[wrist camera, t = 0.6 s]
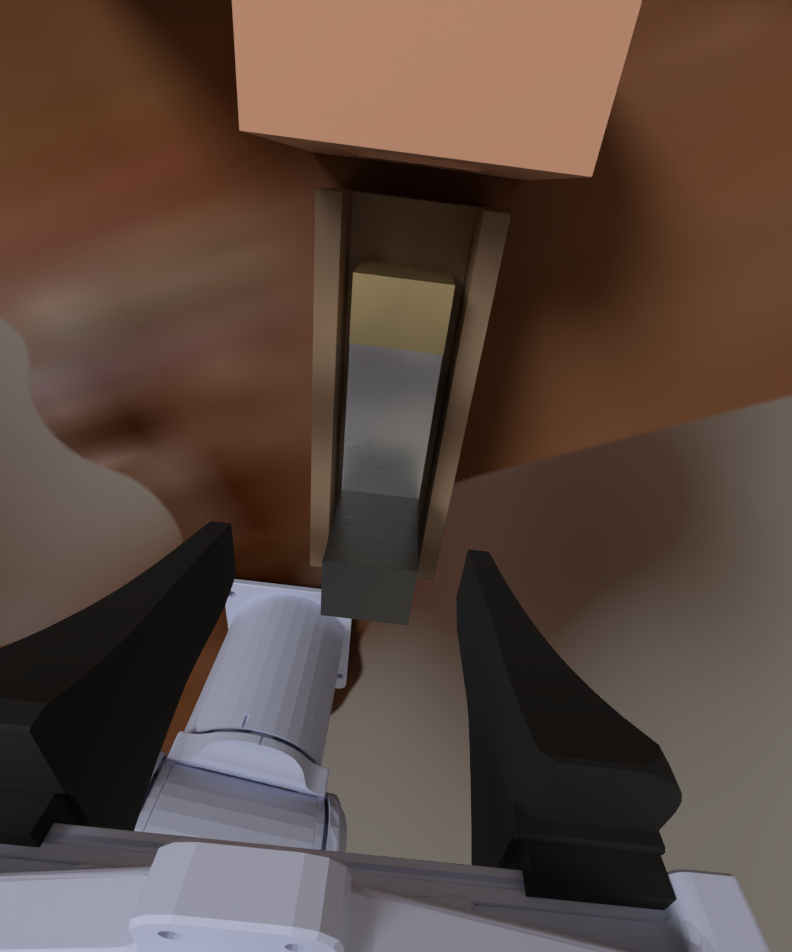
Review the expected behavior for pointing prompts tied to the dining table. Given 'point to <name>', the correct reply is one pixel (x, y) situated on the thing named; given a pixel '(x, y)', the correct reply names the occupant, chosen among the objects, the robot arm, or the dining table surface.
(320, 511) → the guide channel
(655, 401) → the dining table surface
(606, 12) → the tan square block
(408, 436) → the slide bar
